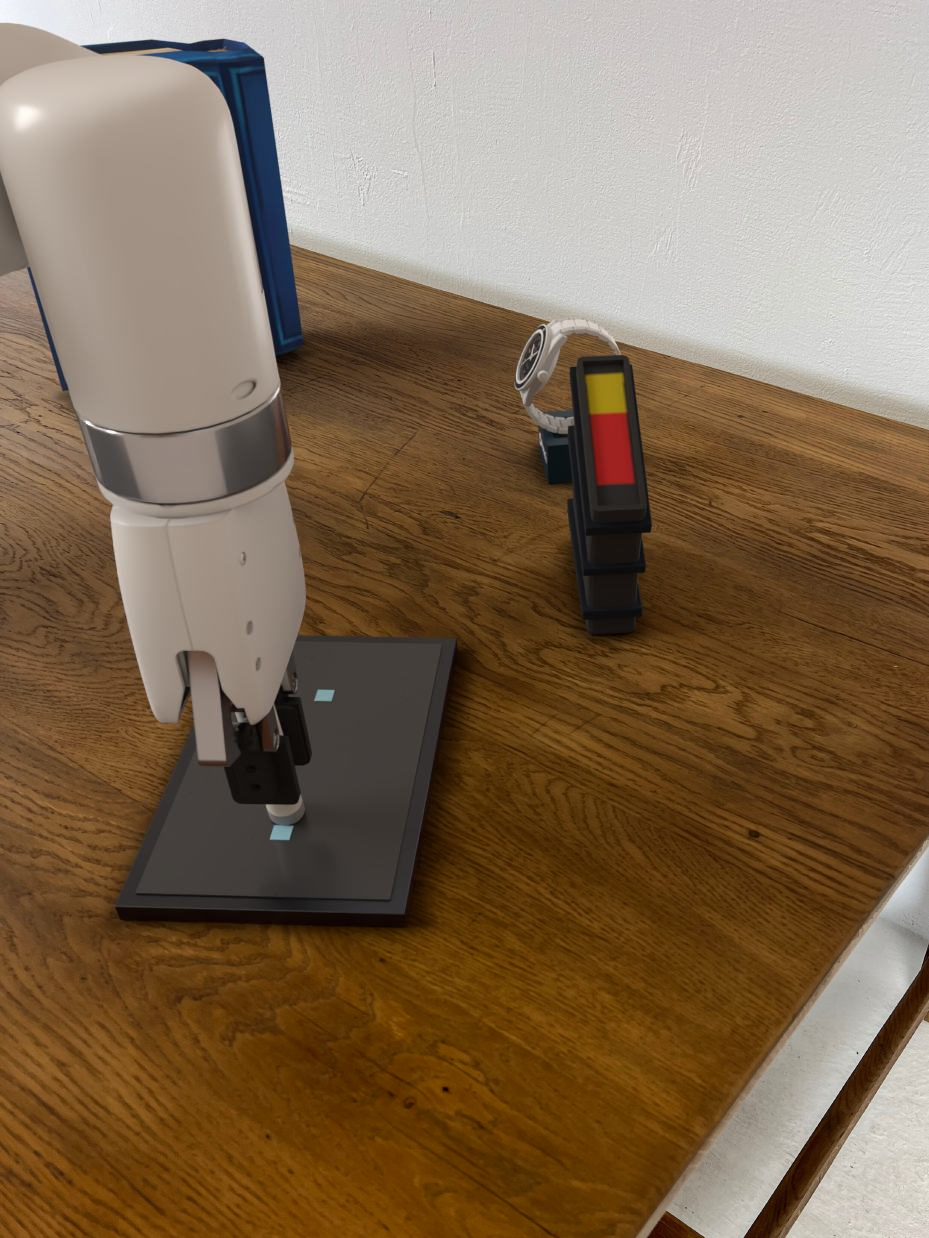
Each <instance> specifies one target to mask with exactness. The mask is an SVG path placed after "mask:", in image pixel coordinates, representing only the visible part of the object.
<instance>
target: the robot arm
mask: <svg viewBox="0 0 929 1238" xmlns="http://www.w3.org/2000/svg"><path fill="white" fill-rule="evenodd" d="M28 267H30V269H31V272H32V275H33V278H34V281H35V285H36V288H37V291H38V294H39V297H40V301H41V304H42V307H43V310H44V314H45V317H46V320H47V323H48V326H49V330H50V333H51V336H52V339H53V342H54V346H55V349H56V352H57V355H58V359H59V362H60V365H61V368H62V371H63V375H64V378H65V380H66V383H67V385H68V390H67V391H68V393H69V396H70V399H71V403H72V406H73V409H74V412H75V416H76V419H77V422H78V426H79V428H80V432H81V435H82V438H83V441H84V445H85V448H86V451H87V454H88V457H89V461H90V464H91V467H92V470H93V473H94V475H95V478H96V483H97V485H98V489H99V491H100V492H101V494H102V496H103V497H104V499H106V500H107V501H108V502H109V503H110V504H111V505H112V506H111V511H110V515H109V518H110V527H111V537H112V545H113V554H114V558H115V565H116V566H115V567H116V574H117V579H118V584H119V589H120V594H121V599H122V603H123V604H122V605H123V609H124V613H125V616H126V617H125V618H126V621H127V626H128V629H129V633H130V638H131V641H132V646H133V650H134V653H135V657H136V661H137V665H138V668H139V672H140V677H141V679H142V683H143V686H144V690H145V693H146V697H147V700H148V703H149V706H150V709H151V712H152V713H153V715H154V717H155V719H156V720H157V721H158V722H159V723H160V724H163V725H164V724H165V725H168V724H178V723H179V721H180V719H181V717H182V714H183V713H184V710H185V707H186V705H187V703H188V700H189V698H191V708H192V718H193V724H194V728H195V737H196V747H197V756H198V763H199V765H200V766H208V767H224V770H225V774H226V777H227V781H228V784H229V788H230V791H231V795H232V798H233V800H234V801H235V802H237V803H239V804H269V805H295V804H297V803H298V801H299V798H300V794H301V791H300V787H299V783H298V778H297V774H296V769H295V766H304V765H306V764H308V763H309V762H310V760H311V756H312V750H311V745H310V740H309V736H308V731H307V726H306V721H305V717H304V712H303V707H302V702H301V698H300V697H289V695H288V694H292V695H295V694H296V693H297V689H298V675H297V670H296V666H295V661H294V656H293V652H292V650H293V647H294V644H295V641H296V638H297V635H299V632H300V629H301V625H302V621H303V618H304V614H305V609H306V604H307V603H306V602H307V588H306V578H305V571H304V570H305V569H304V563H303V557H302V551H301V547H300V541H299V537H298V532H297V528H296V523H295V519H294V516H293V515H294V514H293V510H292V506H291V501H290V498H289V494H288V489H287V485H286V482H285V480H287V478H288V477H289V476H290V474H291V473H292V470H293V468H294V465H295V454H294V448H293V443H292V438H291V433H290V427H289V422H288V421H289V420H288V416H287V410H286V404H285V399H284V394H283V388H282V383H281V379H280V375H279V369H278V363H277V358H276V357H277V356H275V352H274V346H273V340H272V335H271V329H270V323H269V318H268V312H267V307H266V301H265V295H264V290H263V284H262V280H261V275H260V269H259V264H258V258H257V253H256V247H255V242H254V236H253V230H252V225H251V219H250V214H249V208H248V203H247V197H246V191H245V186H244V180H243V175H242V169H241V163H240V158H239V152H238V147H237V141H236V136H235V131H234V126H233V122H232V118H231V114H230V111H229V108H228V106H227V103H226V100H225V99H224V97H223V95H222V93H221V91H220V90H219V88H218V87H217V86H216V85H215V84H214V83H213V81H212V80H211V79H210V78H209V77H208V76H207V75H206V74H204V73H203V72H201V71H200V70H198V69H197V68H195V67H193V66H191V65H188V64H185V63H182V62H178V61H175V60H171V59H167V58H162V57H153V56H140V55H108V56H102V55H100V54H98V53H95V52H93V51H91V50H88V49H86V48H84V47H81V45H79V44H77V43H75V42H73V41H71V40H68V39H66V38H64V37H62V36H60V35H57V34H54V33H52V32H50V31H48V30H44V29H42V28H38V27H35V26H31V25H26V24H22V23H13V22H0V278H2V277H3V276H6V275H9V274H10V273H15V272H18V271H22V270H24V269H27V268H28ZM273 704H274V705H275V709H276V712H277V715H278V719H279V722H280V726H281V729H282V732H283V735H280V734H279V729H278V724H277V720H276V715H275V711H274V706H273ZM231 712H234V713H235V712H245V714H244V717H243V718H244V720H248V721H249V722H238V720H237V717H236V714H235V717H236V721H237V722H232V714H231Z"/></svg>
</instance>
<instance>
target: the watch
mask: <svg viewBox="0 0 929 1238" xmlns="http://www.w3.org/2000/svg"><path fill="white" fill-rule="evenodd" d="M573 334H576V335H579V334H580V335H583V334H587V335H589V336H593V337H597V338H598V339H600V340H601V341H602V342H604V343H606V344H607V345H608V347H610V348H611V349H612V350H613V355H622V353H621V351H620V349H619V347H618V345H617V343H616V342H617V341H616V340H615V338H614V337H613V336H612V334H611V333H610V332H609V331H608V330H607V329H606V328H605V327H604V326H603V325H601V323H599V322H597V321H594V320H592V319H590V318H587V317H582V316H569V317H568V316H566V317H559V318H555V319H553V320H552V321H550V322H549V323H547V324H545V323H542V324H540V325H538V326H537V327H536V328H535V329H534V331H533V332H532V333H531V334H530V336H529V338H528V339H527V341H526V342H525V345H524V347H523V349H522V351H521V353H520V356H519V358H518V362H517V364H516V368H515V372H514V379H513V381H514V382H513V383H514V388H515V390H517V391H518V392H519V395H520V397H521V400H522V405H523V408H524V409H525V412H526V413H527V414H528V417H530V419H531V420H532V421H533V422H535V424H536V425H537V434H538V451H539V456H540V458H541V462H542V466H543V470H544V473H545V478H546V480H547V483H548V485H551V484H566V483H573V481H572V472H571V463H570V454H569V445H568V426H573V425H574V416H573V409H566V410H553V411H541V410H540V409H539V408H537V407H535V406H534V404H533V400H534V397H535V395H537V394H539V393H540V392H541V391H542V390H543V388H544V387H545V386H546V385H547V384H548V382H549V380H550V378H551V377H552V375H553V373H554V371H555V369H556V366H557V364H558V360H559V357H560V352H561V349H562V347H563V346H564V344H565V343H566V342H567V340H568V336H569V335H573Z"/></svg>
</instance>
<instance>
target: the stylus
mask: <svg viewBox="0 0 929 1238" xmlns="http://www.w3.org/2000/svg"><path fill="white" fill-rule="evenodd" d="M273 706H274V711H275V715H276V720H277V724H278V729H279V734H280V735H283V732H282V729H281V726H280V722H279V719H278V715H277V712H276V709H275V705H274V704H273ZM235 714H236V717H237V720H238V722H249V721H248V720H244V718H243V717H244V714H245V712H235ZM266 808H267V811H268V814H269V817H270V819H271V820H272V821H273V822H274V823H276V824H278V825H291V824H294V823H296V822H297V821H299V820H300V819H301V818H302V816H303V814H304V812H305V806H304V802H303V799H302V796H301V794H300V798H299V801H298V803H297V804H295V805H269V804H266Z"/></svg>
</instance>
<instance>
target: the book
mask: <svg viewBox="0 0 929 1238" xmlns="http://www.w3.org/2000/svg"><path fill="white" fill-rule="evenodd" d="M80 46H81V47H84V48H86V49H88V50H91V51H93V52H95V53H98V54H100V55H102V56H108V55H140V56H153V57H162V58H167V59H171V60H175V61H178V62H182V63H185V64H188V65H191V66H193V67H195V68H197V69H198V70H200V71H201V72H203V73H204V74H206V75H207V76H208V77H209V78H210V79H211V80H212V81H213V83H214V84H215V85H216V86H217V87H218V88H219V90H220V91H221V93H222V95H223V97H224V99H225V100H226V103H227V106H228V108H229V111H230V114H231V118H232V122H233V126H234V131H235V136H236V141H237V147H238V152H239V158H240V163H241V169H242V175H243V180H244V186H245V191H246V197H247V203H248V208H249V214H250V219H251V225H252V230H253V236H254V242H255V247H256V253H257V258H258V264H259V269H260V275H261V280H262V284H263V290H264V295H265V301H266V307H267V312H268V318H269V323H270V329H271V335H272V340H273V346H274V352H275V357H280V356H283V355H287V354H288V353H292V352H295V351H296V350H298V349H299V348H300V347H302V346H303V345H304V343H305V342H304V335H303V329H302V328H303V327H302V322H301V315H300V314H301V313H300V307H299V300H298V293H297V286H296V278H295V272H294V271H295V270H294V265H293V264H294V263H293V257H292V250H291V249H292V248H291V243H290V234H289V229H288V222H287V215H286V214H287V213H286V207H285V199H284V193H283V186H282V185H283V184H282V178H281V170H280V164H279V156H278V150H277V142H276V141H277V140H276V135H275V130H274V121H273V114H272V107H271V100H270V99H271V98H270V93H269V92H270V91H269V85H268V78H267V71H266V70H267V69H266V62H265V57H264V56H263V55H262V54H261V53H259V52H257V51H256V50H255V49H254V48H253V47H251V46H250V45H249V44H247V42H244V41H239V40H234V39H233V40H232V39H230V38H229V39H228V38H215V39H204V40H199V41H194V42H190V43H189V42H179V41H169V40H161V39H152V38H151V39H140V40H138V39H137V40H129V41H116V42H105V43H91V44H83V45H80ZM26 269H27V274H28V277H29V280H30V283H31V287H32V290H33V293H34V297H35V301H36V304H37V308H38V311H39V314H40V318H41V321H42V324H43V329H44V331H45V335H46V338H47V342H48V345H49V349H50V352H51V355H52V360H53V363H54V366H55V370H56V373H57V377H58V380H59V384H60V388H61V391H62V392H66V391H69V390H68V385H67V383H66V380H65V378H64V375H63V371H62V368H61V365H60V362H59V359H58V355H57V352H56V349H55V346H54V342H53V339H52V336H51V333H50V330H49V326H48V323H47V320H46V317H45V314H44V310H43V307H42V304H41V301H40V297H39V294H38V291H37V288H36V285H35V281H34V278H33V275H32V272H31V269H30V267H28V268H26Z"/></svg>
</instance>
